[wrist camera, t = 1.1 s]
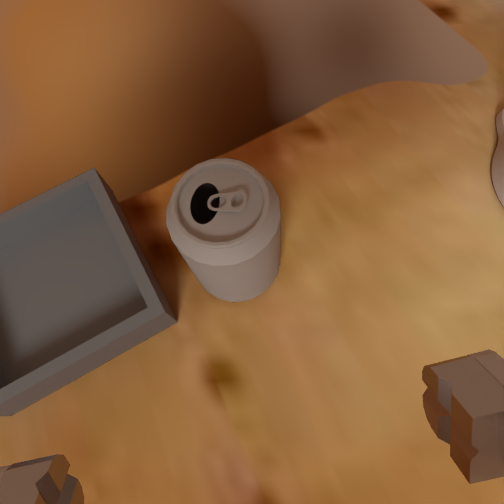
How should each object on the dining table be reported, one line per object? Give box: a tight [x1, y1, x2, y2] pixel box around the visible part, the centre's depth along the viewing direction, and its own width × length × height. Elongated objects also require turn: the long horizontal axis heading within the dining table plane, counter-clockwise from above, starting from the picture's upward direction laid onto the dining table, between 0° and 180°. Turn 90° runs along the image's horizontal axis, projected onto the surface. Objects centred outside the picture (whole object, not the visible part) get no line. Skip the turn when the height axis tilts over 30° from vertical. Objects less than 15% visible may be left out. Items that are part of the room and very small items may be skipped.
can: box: [166, 158, 281, 302], centre depth 30 cm, size 8×8×12 cm
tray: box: [0, 168, 177, 416], centre depth 33 cm, size 15×15×4 cm
